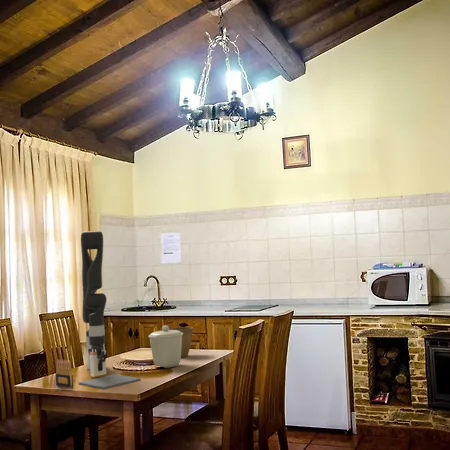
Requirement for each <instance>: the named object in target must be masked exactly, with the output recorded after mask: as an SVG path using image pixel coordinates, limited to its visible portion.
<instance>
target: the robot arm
mask: <svg viewBox="0 0 450 450" xmlns="http://www.w3.org/2000/svg"><path fill="white" fill-rule="evenodd" d="M80 249H81V262H82V263H81V264H82V266H81V267H82V269H81V274H82V275H81V277H82V281H81V283H82V320H83V322H84V324H88V329H87V330H86V332H85V335H86V336H85V338H86V340H85V341H86V342H85V343H86V354H85V357H86V369H87V370H89V371H90V353H91V352H95V353H96V358H97V360H98V371H102V370H103V362H105V360H106V361H107V356H108V350H107V349H105V348H106V347H105V344H106V337H105V336H106V335H105V334H106V333H105V332H106V330H105V325H104V324H105V321H104V320H105V319H104V315H105V308H106V304H107V295H106V294H105V293H101V292H100V293H97V290H101V288H102V287H103V278H102V277H103V274H102V273H103V272H102V271H103V270H102V268H103V257H104V235H103V232H102V231H99V230H95V231H93V230H92V231H82V232H81V235H80ZM88 250H96V254H95V257H94V259H92V257H91V256H90V253H89V251H88ZM103 358H104V359H103Z"/></svg>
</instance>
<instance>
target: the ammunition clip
mask: <svg viewBox="0 0 450 450" xmlns="http://www.w3.org/2000/svg"><path fill="white" fill-rule="evenodd" d="M71 363H72V362H71V359H69V360H68V359H63V358H62V359H61V358H56V368H55V370H56V373H55V386H61V387H65V388H66V387H68V388H71V387H74V379H73V378H74V377H73V371H72V364H71Z"/></svg>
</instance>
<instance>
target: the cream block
mask: <svg viewBox="0 0 450 450" xmlns="http://www.w3.org/2000/svg"><path fill="white" fill-rule="evenodd" d="M103 359H104V358H103ZM106 361H107V359H106V360H105V362H103V370H102V371H98V360H97V358H96V353H95V352H91V353H90V370H89V371H90V374H89V375H90V376H91V377H98V376H101V375H106V374H107V362H106Z"/></svg>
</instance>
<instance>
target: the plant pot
mask: <svg viewBox="0 0 450 450" xmlns="http://www.w3.org/2000/svg"><path fill="white" fill-rule="evenodd" d="M169 330H177V331H180V332H181V333H183V335H182V345H181V358H186V357H188V356H189V353H190V349H191V345H192V341H193V333H194V331H193V330H194V327H191V326H180V327H178V326H177V327H169Z"/></svg>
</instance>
